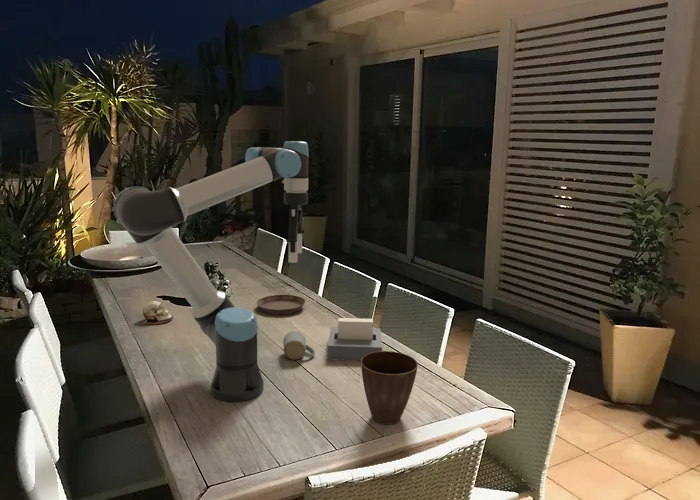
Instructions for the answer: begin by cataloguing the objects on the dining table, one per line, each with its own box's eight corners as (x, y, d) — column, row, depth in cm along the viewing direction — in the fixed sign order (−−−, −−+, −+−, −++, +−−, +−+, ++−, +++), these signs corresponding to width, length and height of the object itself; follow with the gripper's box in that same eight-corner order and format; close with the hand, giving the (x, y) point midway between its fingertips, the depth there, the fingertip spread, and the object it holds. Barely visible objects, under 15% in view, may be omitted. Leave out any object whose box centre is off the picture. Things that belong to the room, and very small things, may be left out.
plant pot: (410, 404, 155) (413, 351, 152) (418, 432, 141) (422, 374, 137) (357, 404, 155) (359, 350, 151) (360, 432, 140) (362, 373, 137)
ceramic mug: (283, 361, 182) (284, 339, 180) (283, 351, 190) (283, 330, 188) (315, 361, 183) (316, 339, 182) (313, 351, 191) (314, 330, 190)
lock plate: (381, 361, 184) (382, 347, 183) (327, 359, 184) (327, 345, 183) (379, 341, 202) (380, 328, 201) (330, 339, 202) (330, 326, 201)
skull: (177, 312, 224) (172, 299, 216) (171, 335, 218) (165, 322, 210) (148, 310, 224) (141, 297, 216) (141, 333, 218) (134, 321, 210)
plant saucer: (249, 313, 229) (249, 306, 228) (267, 299, 248) (267, 292, 248) (296, 318, 224) (296, 311, 224) (311, 303, 244) (311, 296, 243)
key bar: (371, 345, 194) (372, 318, 192) (372, 349, 191) (373, 322, 189) (337, 344, 194) (338, 317, 192) (337, 348, 191) (338, 321, 189)
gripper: (289, 187, 185) (288, 249, 189) (278, 195, 160) (278, 266, 165) (311, 187, 185) (310, 249, 189) (303, 196, 160) (303, 267, 165)
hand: (295, 257), depth 177 cm, fingers open, 13 cm apart
